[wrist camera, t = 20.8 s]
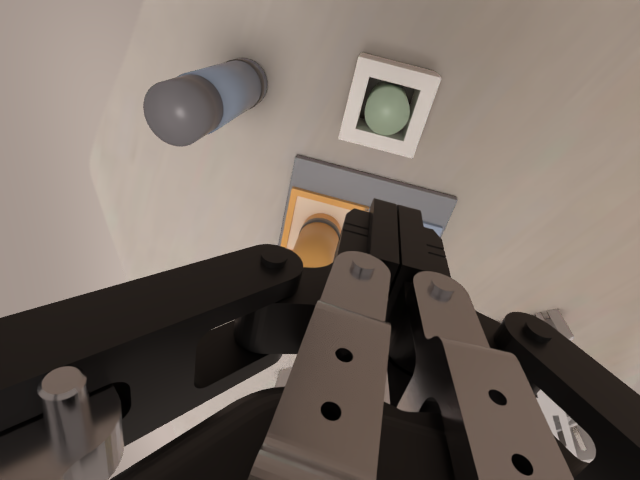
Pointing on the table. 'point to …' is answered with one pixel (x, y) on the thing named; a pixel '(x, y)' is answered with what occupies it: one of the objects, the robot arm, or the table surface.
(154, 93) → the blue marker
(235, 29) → the table surface
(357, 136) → the button housing
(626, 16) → the table surface
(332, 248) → the orange marker
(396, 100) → the button
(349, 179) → the picture board
